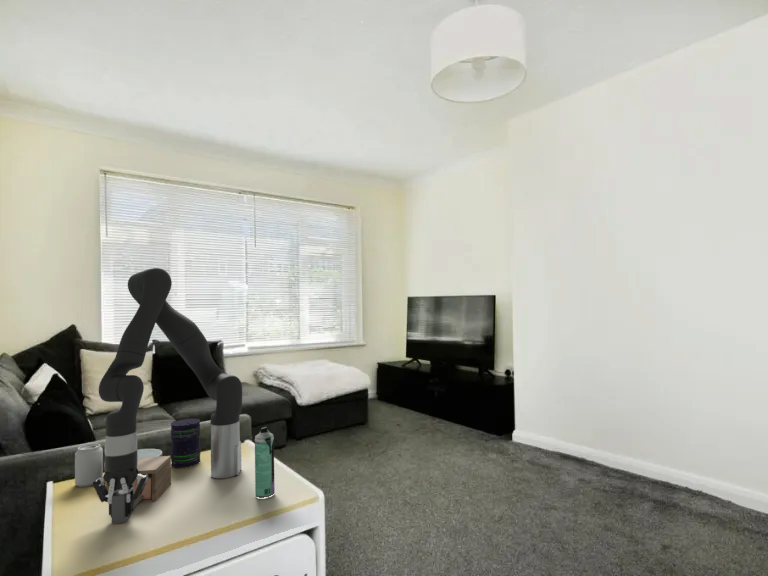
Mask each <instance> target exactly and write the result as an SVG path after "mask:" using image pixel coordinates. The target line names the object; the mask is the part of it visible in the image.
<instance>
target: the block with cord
mask: <svg viewBox="0 0 768 576" xmlns="http://www.w3.org/2000/svg"><path fill="white" fill-rule="evenodd" d="M142 475H146V474H142ZM148 475H149V478H148V481H147V483H146V485H145V487H144V490H143V492H142V494H141V495H140V496H139V497H138V498H137V499H136V500H134V508H135V507H136V506H137V505H138V504H139V503H140V502H141V501H142V500H149V499H150V500H152V474H148ZM137 481H138V480H137V478H136V480H135V481H134V482H133V484H134V493H135V491H136V489H137V487H138V483H137ZM125 503H126V500H125V495H124V494H123V490H121V489H119V491H118V492H117V493H115V495H113V496H112V518H111V525H114V524H115V523H117V524H124V523H126V522H127V520H129V518H130V517H131V515H132V513H131V514H130V515H129V516H127V517H126V516H125Z"/></svg>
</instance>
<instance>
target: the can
mask: <svg viewBox="0 0 768 576" xmlns="http://www.w3.org/2000/svg"><path fill="white" fill-rule="evenodd" d="M103 454H104V449H103V447H102V446H101V443H89V444H84V445H81V446H78V447H77V451H76V452H75V454H74V484H75V485H76V486H77V487H79V488H85V487H86V488H87V487H91V486H93V482H94V481H95V480H96V479H98V478H102V477H103V476H104V474H103V471H104V467H103V465H104V462H103V461H104V455H103Z"/></svg>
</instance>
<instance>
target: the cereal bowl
mask: <svg viewBox="0 0 768 576" xmlns="http://www.w3.org/2000/svg"><path fill="white" fill-rule="evenodd" d="M160 456H163V451H162V450H161V449H158V448H157V449H156V448H140V449H137V460H139V459H140V458H144V457H160ZM103 465H104V467H103V470H105V462H103Z"/></svg>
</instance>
